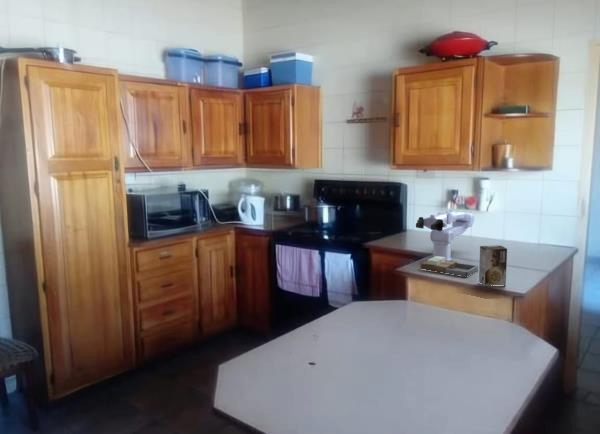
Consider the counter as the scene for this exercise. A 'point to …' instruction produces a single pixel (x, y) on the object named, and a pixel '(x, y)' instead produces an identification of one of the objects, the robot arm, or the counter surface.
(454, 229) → the robot arm
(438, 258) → the cream tile
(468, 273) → the box
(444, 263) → the flat brown block
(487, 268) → the coffee box
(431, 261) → the sage tile
